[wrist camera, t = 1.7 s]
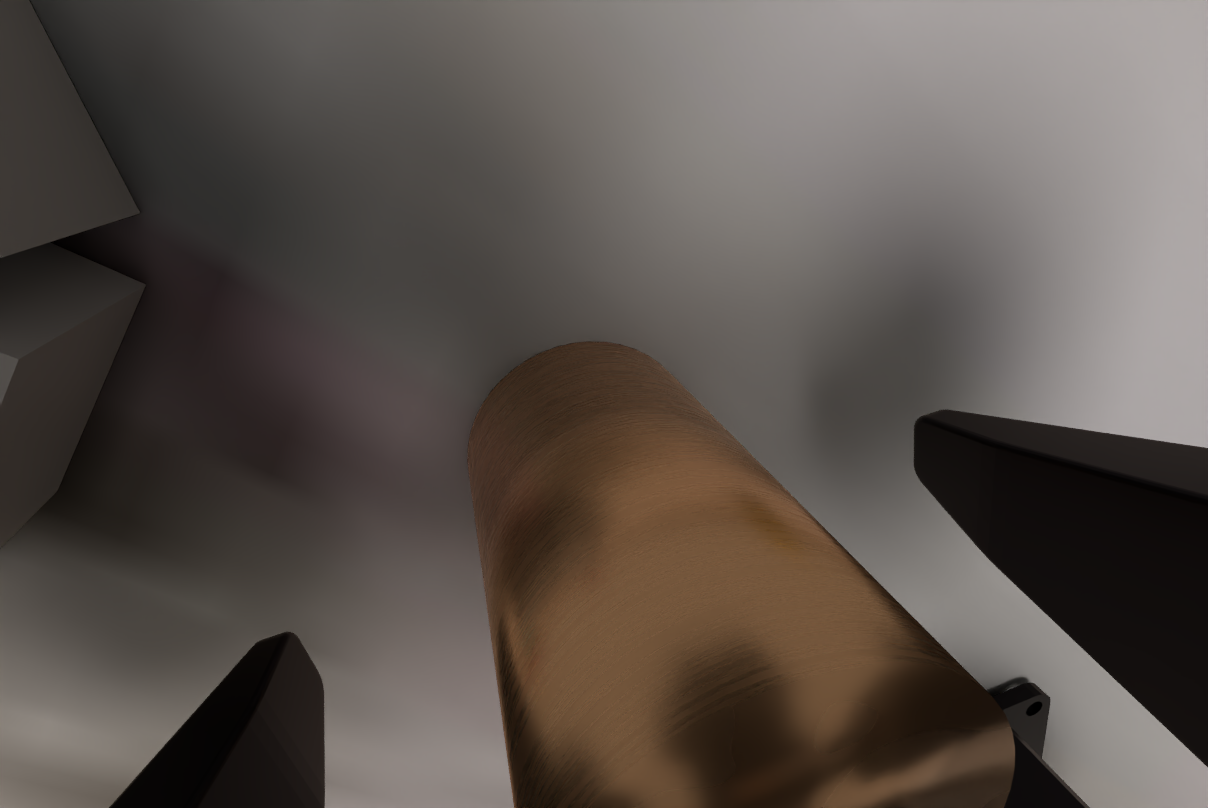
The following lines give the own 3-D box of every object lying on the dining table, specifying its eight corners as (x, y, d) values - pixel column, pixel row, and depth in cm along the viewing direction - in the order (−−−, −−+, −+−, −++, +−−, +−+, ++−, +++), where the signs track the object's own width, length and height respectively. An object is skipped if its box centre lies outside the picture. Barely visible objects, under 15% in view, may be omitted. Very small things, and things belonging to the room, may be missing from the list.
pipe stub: (706, 508, 12) (998, 900, 6) (504, 576, 12) (599, 1088, 6) (674, 312, 11) (1037, 585, 4) (434, 382, 10) (457, 811, 4)
